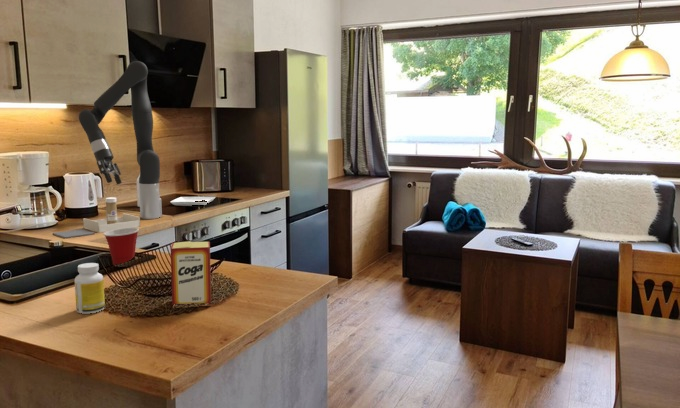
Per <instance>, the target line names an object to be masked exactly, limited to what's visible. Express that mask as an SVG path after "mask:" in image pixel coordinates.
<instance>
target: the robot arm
mask: <svg viewBox="0 0 680 408" xmlns="http://www.w3.org/2000/svg"><path fill="white" fill-rule="evenodd" d="M148 74H149V70H148V67H147V65H146V64H145V63H144V62H142V61H140V60H133V61H131V62H130V63H128V65H127V67H126V69H125V70H124V72H123V73H122V75H121V76H120V77H119V78H118V79H117V80H116V81H115V82H114V83H113V84H112V85H111V86H110V87H108V89H106V90H105V91H104V92H103V93H102V94H101V95H100V96H99V97H98V98H97V99H96V100H95V101H94V103H93V105H94V107H93V108H92V109H91V110H90V109H82V110H81V111H80V112H79V113H78V121H79V123H80V125H81V127H82V129H83V130H84V132H85V134H86V136H87V139H88V142H89V144H90V148H91V151H92V153H93V155H94V159H95V160H96V165H97V167H98V170H99V173H100V174H101V175H103V176H104V178H105V180H106V182H107V183H108V184H110V183H112V182H113V179H112V177H111V175H112V176H113V178H114V181H115V183H116V185H120V184H122V183H123V182H122V180H121V178H120V177H121V175H122V172H121V171H120V168H119V166H118V164H117V163H116V162H113V161H112V160H113V159H114V154H113V152H112V149H111V146H110V145H109V143H108V141H107V138H106V136H105V134H104V132H103V130H102V129H101V128H100V126H99V125H100V123H101V122H102V121H103V119H104V118H105V117H106V115H107V113H108V112H110V110H111V109H112V108H113V107H114V106H115V105H117V103H118V102H119V101H120V100H121V99H122V97H124V95H125V94H126V93H127V92H128V91H129V90H130V91H131V99H130V101H131V117H132V124H133V130H134V136H135V139H136V140H135V141H136V161H137V164H138V166H139V175H140V177H139V176H138V177H139V191H140V207H139V211H140V213H139V214H140V219H142V220H154V219H155V220H156V219H159V217H160V218H162V217H163V212H162V211H163V210H162V209H163V208H162V207H163V206H162V198H161V197H160V176H161V171H160V170H161V166H160V165H161V163H160V161H161V160H160V157H159V155H158V153H156V152H155V151H154V146H153V130H154V117H153V110H152V105H151V101H150V97H149V93H148V83H147V82H148ZM161 216H162V217H161Z"/></svg>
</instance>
